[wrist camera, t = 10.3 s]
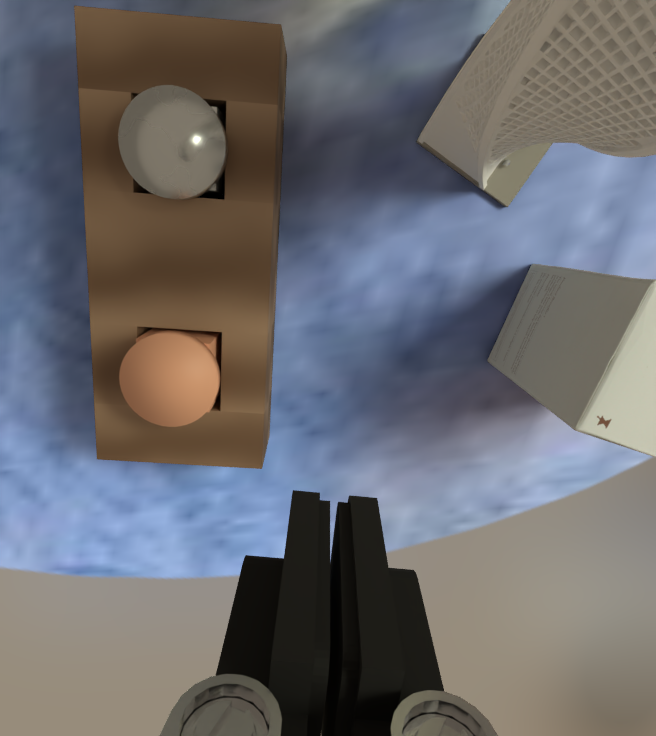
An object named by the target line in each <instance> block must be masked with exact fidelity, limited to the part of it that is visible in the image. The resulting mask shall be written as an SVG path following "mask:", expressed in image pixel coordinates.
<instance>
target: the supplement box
mask: <svg viewBox="0 0 656 736" xmlns="http://www.w3.org/2000/svg"><path fill="white" fill-rule="evenodd" d="M487 361H488V362H489V363H490V364H491V365H492V366H494V367H495V368H496V369H498V370H499V371H500V372H501V373H503V374H504V375H505V376H506V377H508V378H509V379H510V380H512V381H513V382H514V383H515V384H517V385H518V386H519V387H521V388H522V389H523V390H524V391H526V392H527V393H528V394H529V395H531V396H532V397H533V398H535V399H536V400H537V401H538V402H540V403H541V404H542V405H543V406H545V407H546V408H547V409H548V410H550V411H551V412H552V413H554V414H555V415H556V416H557V417H559V418H560V419H561V420H563V421H564V422H565V423H566V424H567V425H569V426H570V427H571V428H572V429H574V430H575V431H579V432H582V433H585V434H588V435H591V436H594V437H597V438H600V439H603V440H606V441H609V442H612V443H615V444H618V445H621V446H624V447H627V448H630V449H633V450H636V451H639V452H642V453H645V454H648V455H651V456H654V457H656V280H654V279H639V278H630V277H623V276H617V275H609V274H602V273H596V272H591V271H584V270H578V269H571V268H564V267H557V266H547V265H540V264H532V265H531V267H530V269H529V271H528V273H527V275H526V277H525V280H524V282H523V284H522V286H521V288H520V290H519V292H518V295H517V297H516V299H515V301H514V303H513V305H512V308H511V310H510V312H509V314H508V316H507V319H506V321H505V323H504V325H503V327H502V329H501V332H500V334H499V336H498V338H497V340H496V343H495V345H494V347H493V349H492V351H491V353H490V356H489V358H488V360H487Z"/></svg>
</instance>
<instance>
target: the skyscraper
mask: <svg viewBox="0 0 656 736" xmlns="http://www.w3.org/2000/svg"><path fill="white" fill-rule="evenodd" d="M416 142H417V143H418V144H419V145H421V146H422V147H423V148H425V149H426V150H428V151H429V152H430V153H432V154H433V155H434V156H436V157H437V158H439V159H440V160H441V161H443V162H444V163H445V164H447V165H448V166H450V167H451V168H452V169H454V170H455V171H456V172H458V173H459V174H461V175H462V176H463V177H465V178H466V179H467V180H469V181H470V182H472V183H473V184H474V185H476V186H477V187H478V188H480V189H481V190H483V191H484V192H485V193H487V194H488V195H489V196H491V197H492V198H494V199H495V200H496V201H498V202H499V203H500V204H502V205H503V206H505V207H508V206H509V204H510V203H511V202H512V200H513V199H514V197H515V196H516V195H517V193H518V192H519V190H520V189H521V187H522V186H523V185H524V183H525V182H526V180H527V179H528V177H529V176H530V175H531V173H532V172H533V170H534V169H535V168H536V166H537V165H538V163H539V162H540V160H541V159H542V158H543V156H544V155H545V153H546V152H547V150H548V149H549V148H550V146H551V145H552V143H558V142H560V143H578V144H580V145H582V146H584V147H586V148H589V149H591V150H594V151H597V152H600V153H603V154H607V155H612V156H618V157H629V158H630V157H646V156H650V155H655V154H656V0H511V1H510V2H509V4H508V5H507V6H506V8H505V9H504V10H503V11H502V13H501V14H500V15H499V17H498V18H497V19H496V21H495V22H494V23H493V25H492V26H491V27H490V28H489V30H488V31H487V32H486V33H485V35H484V37H483V38H482V39H481V41H480V42H479V44H478V45H477V47H476V48H475V49H474V51H473V52H472V54H471V55H470V57H469V58H468V59H467V61H466V62H465V64H464V65H463V67H462V68H461V70H460V71H459V73H458V74H457V76H456V78H455V79H454V81H453V82H452V84H451V85H450V87H449V88H448V90H447V91H446V93H445V95H444V96H443V98H442V99H441V101H440V103H439V104H438V106H437V108H436V109H435V111H434V113H433V114H432V116H431V117H430V119H429V121H428V122H427V124H426V126H425V127H424V129H423V131H422V132H421V134H420V136H419V138H418V140H417V141H416Z"/></svg>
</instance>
